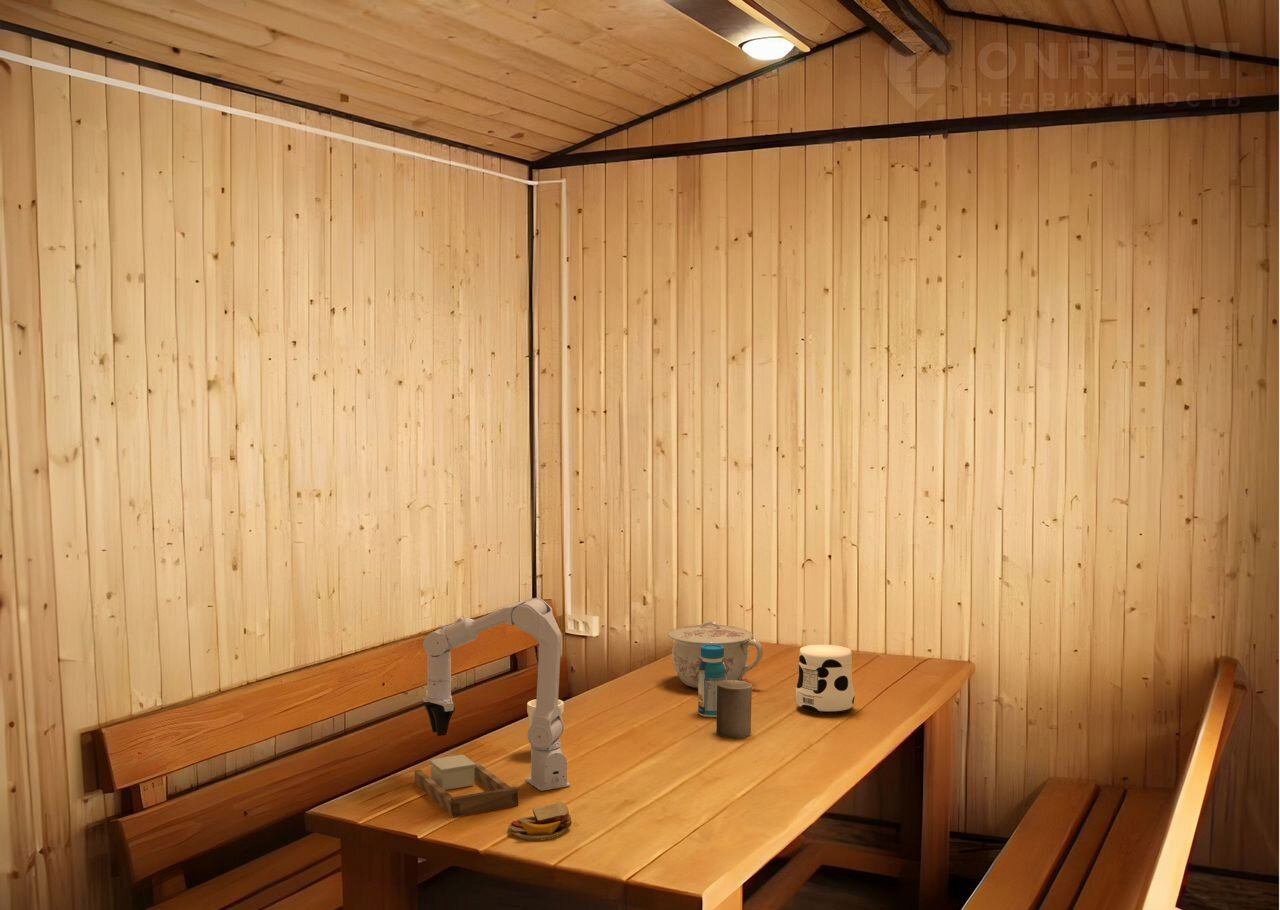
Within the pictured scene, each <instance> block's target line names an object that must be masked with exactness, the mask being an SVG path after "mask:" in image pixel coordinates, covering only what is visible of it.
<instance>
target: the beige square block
mask: <svg viewBox="0 0 1280 910" xmlns="http://www.w3.org/2000/svg"><path fill="white" fill-rule="evenodd" d="M428 763H429V764H430V778H431V779H432V780H433V781H435V782H436V783H437V784H438V785H439V786H440V787H442V788H443V789H444V790H445V791H447V790H453V789H460V788H465V787H470V786H475V778H474V768H476V764H475V763H474V762H472V759H470V758H468V757H467V756H465V754H458V755H457V754H456V755H452V756H445V757H438V758H433V759H429V760H428Z"/></svg>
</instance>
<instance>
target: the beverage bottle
mask: <svg viewBox="0 0 1280 910" xmlns="http://www.w3.org/2000/svg"><path fill="white" fill-rule="evenodd" d="M701 658H703V660H702V661H701V663H700V665H699V668H698V671H699V675H698V689H697V691H698V693H697V694H698V695H697V697H698V699H697V701H698V702H697V704H698V705H697V713H698V714H699V716H700V717H701V716H702V717H705V718H717V684H718V682H721V681H725V680H727V677H726V675H725V672H726V666H725V664H724V662H723V661H722V659H723V658H724V647H723V646H721V645H715V644H708V645H703V646H701Z"/></svg>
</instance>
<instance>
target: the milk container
mask: <svg viewBox="0 0 1280 910" xmlns="http://www.w3.org/2000/svg"><path fill="white" fill-rule="evenodd" d="M798 657H799V658H798V659H799V661H798V681H797V683H796V686H795V700H796V704H797V706H798V707H800V709H802V710H804V711H806V712H811V713H816V714H824V715H828V714H829V715H831V714H833V715H834V714H840V713H845V712H848V711H849V710H851V709H852V708H853V706H854V702H855V698H856V697H855V694H856V693H855V689H854V685H853V677H852V672H853V664H852V663H853V658H852V657H853V655H852V650H851V649H850V648H848V647H845V646H841V645H837V644H836V645H835V644H808V645H804V646H801V647H800V649H799V656H798Z"/></svg>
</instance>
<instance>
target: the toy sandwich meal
mask: <svg viewBox="0 0 1280 910" xmlns="http://www.w3.org/2000/svg"><path fill="white" fill-rule="evenodd" d="M532 813H533V815H531V816H530V815H529V816H525V817H524V816H523V817H521V818H518V819H515V820H513V821H511V823H510V824H509V825H508V830H509V832H510V833H511V834H512V835H513V836H514V835H515V837H516V838H518V839H522V840H527V839H528V840H527V841H542V840H541V839H546V840H550V839H549V838H551V839H553V838H552V837H555V838H557V837H558V836H557V835H559V836H561V835H562V834H564V832H565V831H566V830H567V828H569V827H571V826H572V823H573V822H572V817H571V814H570V812H569V807H568V806H567V805H566V804H565V803H563V802H561V801H558V802H555V803H552V804H548V805H544V806H539V807H536V808H532ZM561 833H562V834H561ZM560 834H561V835H560ZM556 836H557V837H556Z"/></svg>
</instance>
